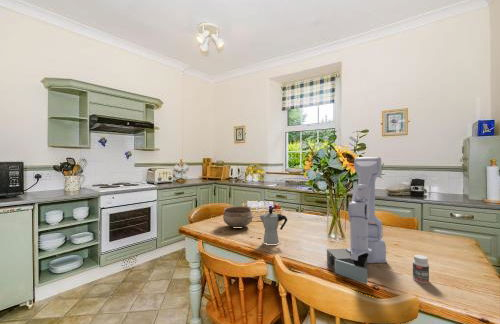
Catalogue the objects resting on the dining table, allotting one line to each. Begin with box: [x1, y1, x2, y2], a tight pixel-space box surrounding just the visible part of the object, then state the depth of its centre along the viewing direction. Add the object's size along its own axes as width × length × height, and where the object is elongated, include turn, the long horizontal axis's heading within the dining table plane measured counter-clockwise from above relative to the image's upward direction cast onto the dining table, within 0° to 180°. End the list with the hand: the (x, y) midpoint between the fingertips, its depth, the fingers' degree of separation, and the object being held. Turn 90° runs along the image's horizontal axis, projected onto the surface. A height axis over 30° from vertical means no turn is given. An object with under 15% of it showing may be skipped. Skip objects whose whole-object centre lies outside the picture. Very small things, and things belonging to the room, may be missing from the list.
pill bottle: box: [412, 254, 430, 284], centre depth 86 cm, size 5×5×8 cm
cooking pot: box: [222, 205, 254, 228], centre depth 157 cm, size 25×19×12 cm
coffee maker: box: [258, 208, 288, 244], centre depth 126 cm, size 15×9×18 cm, turn 83°
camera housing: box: [326, 247, 369, 273], centre depth 98 cm, size 13×10×6 cm
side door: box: [334, 259, 368, 285], centre depth 88 cm, size 12×1×5 cm, turn 43°
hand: (359, 273), depth 87 cm, fingers closed, pressing on side door
